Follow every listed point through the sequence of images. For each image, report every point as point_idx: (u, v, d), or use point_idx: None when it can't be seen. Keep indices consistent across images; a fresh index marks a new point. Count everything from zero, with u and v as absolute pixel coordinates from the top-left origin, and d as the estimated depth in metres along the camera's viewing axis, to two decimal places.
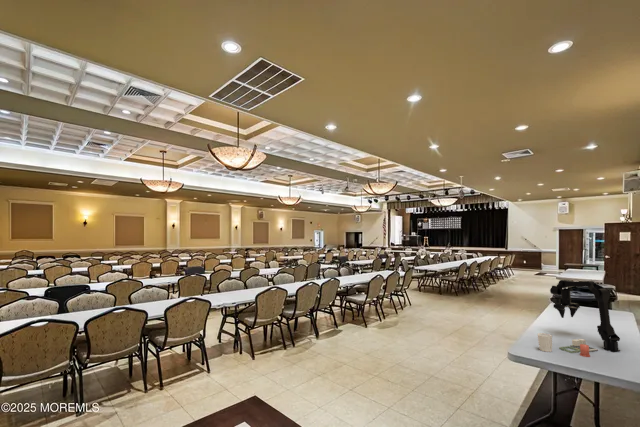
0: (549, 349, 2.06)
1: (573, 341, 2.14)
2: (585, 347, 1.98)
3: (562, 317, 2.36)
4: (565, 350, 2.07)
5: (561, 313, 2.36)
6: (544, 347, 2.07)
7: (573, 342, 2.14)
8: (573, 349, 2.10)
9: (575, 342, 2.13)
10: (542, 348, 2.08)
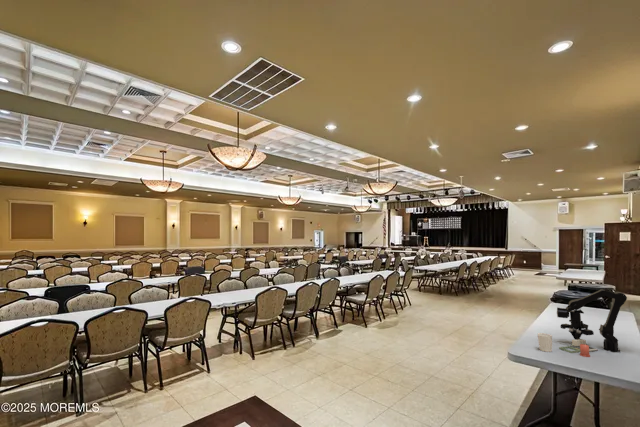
0: (549, 349, 2.06)
1: (573, 341, 2.14)
2: (585, 347, 1.98)
3: None
4: (565, 350, 2.07)
5: None
6: (544, 347, 2.07)
7: (573, 342, 2.14)
8: (573, 349, 2.10)
9: (575, 342, 2.13)
10: (542, 348, 2.08)
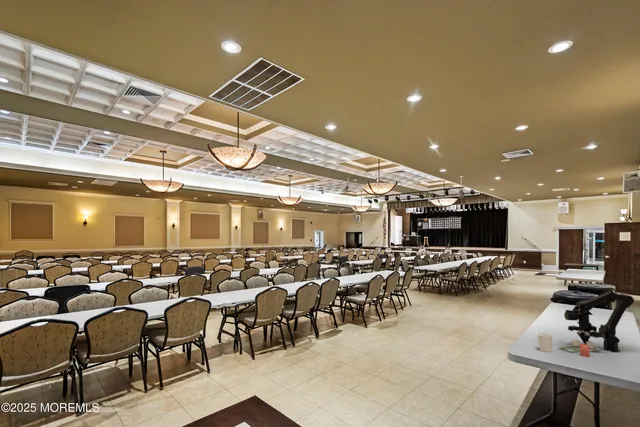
0: (549, 349, 2.06)
1: (573, 341, 2.14)
2: (585, 347, 1.98)
3: (584, 343, 2.13)
4: (565, 350, 2.07)
5: None
6: (544, 347, 2.07)
7: (573, 342, 2.14)
8: (573, 349, 2.10)
9: (575, 342, 2.13)
10: (542, 348, 2.08)
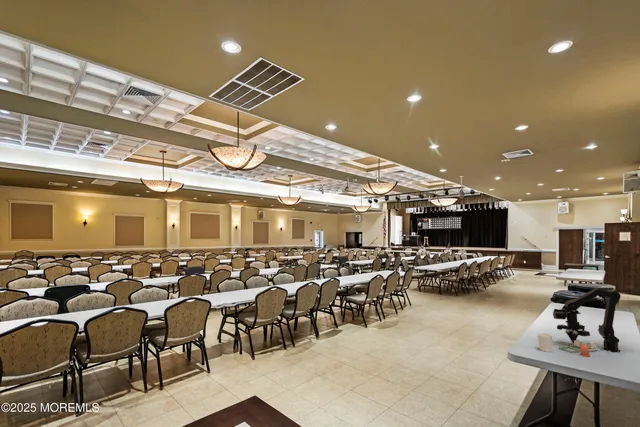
0: (549, 349, 2.06)
1: (575, 342, 2.13)
2: (585, 347, 1.98)
3: None
4: (565, 350, 2.07)
5: None
6: (544, 347, 2.07)
7: (575, 343, 2.13)
8: (573, 349, 2.10)
9: (577, 343, 2.12)
10: (542, 348, 2.08)
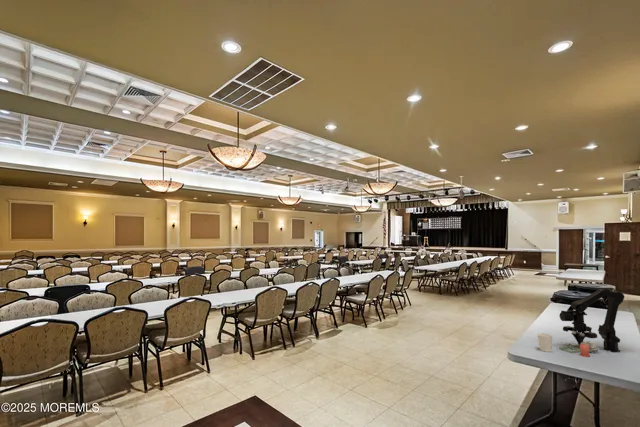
0: (549, 349, 2.06)
1: None
2: (585, 347, 1.98)
3: (579, 344, 2.12)
4: (565, 350, 2.07)
5: None
6: (544, 347, 2.07)
7: None
8: (573, 349, 2.10)
9: None
10: (542, 348, 2.08)
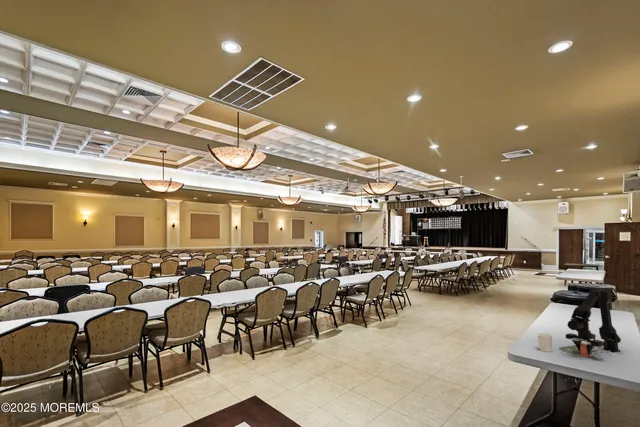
0: (549, 349, 2.06)
1: None
2: (585, 347, 1.98)
3: (579, 351, 2.02)
4: (565, 350, 2.07)
5: None
6: (544, 347, 2.07)
7: None
8: (573, 349, 2.10)
9: None
10: (542, 348, 2.08)
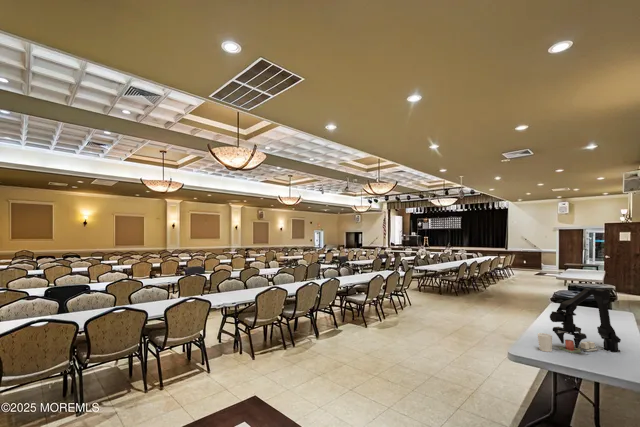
0: (549, 349, 2.06)
1: (582, 344, 2.09)
2: (569, 342, 2.07)
3: (562, 343, 2.13)
4: (565, 350, 2.07)
5: None
6: (544, 347, 2.07)
7: (582, 345, 2.09)
8: None
9: (584, 345, 2.07)
10: (542, 348, 2.08)
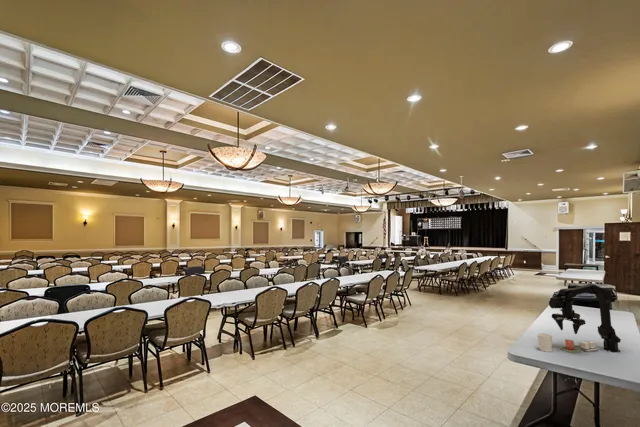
0: (549, 349, 2.06)
1: (582, 344, 2.09)
2: (569, 342, 2.07)
3: (561, 329, 2.14)
4: (565, 350, 2.07)
5: None
6: (544, 347, 2.07)
7: (582, 345, 2.09)
8: None
9: (584, 345, 2.07)
10: (542, 348, 2.08)
